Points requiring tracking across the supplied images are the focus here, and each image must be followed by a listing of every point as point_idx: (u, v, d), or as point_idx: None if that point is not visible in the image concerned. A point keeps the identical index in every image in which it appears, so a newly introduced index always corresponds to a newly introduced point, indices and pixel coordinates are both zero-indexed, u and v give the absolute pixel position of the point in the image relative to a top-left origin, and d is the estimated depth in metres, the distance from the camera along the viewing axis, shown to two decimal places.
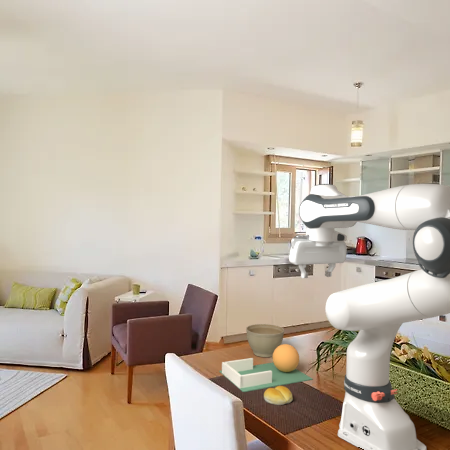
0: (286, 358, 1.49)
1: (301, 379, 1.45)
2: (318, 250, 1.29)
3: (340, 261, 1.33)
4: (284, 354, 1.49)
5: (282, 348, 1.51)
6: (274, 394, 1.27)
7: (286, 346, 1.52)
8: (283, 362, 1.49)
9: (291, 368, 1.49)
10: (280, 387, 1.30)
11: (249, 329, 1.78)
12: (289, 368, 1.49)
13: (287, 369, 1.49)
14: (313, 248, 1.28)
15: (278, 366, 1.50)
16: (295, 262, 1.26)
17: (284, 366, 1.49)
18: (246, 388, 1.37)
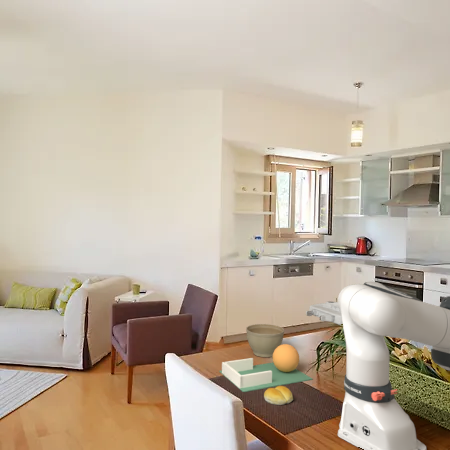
0: (286, 358, 1.49)
1: (301, 379, 1.45)
2: None
3: None
4: (284, 354, 1.49)
5: (282, 348, 1.51)
6: (274, 394, 1.27)
7: (286, 346, 1.52)
8: (283, 362, 1.49)
9: (291, 368, 1.49)
10: (280, 387, 1.30)
11: (249, 329, 1.78)
12: (289, 368, 1.49)
13: (287, 369, 1.49)
14: None
15: (278, 366, 1.50)
16: None
17: (284, 366, 1.49)
18: (246, 388, 1.37)
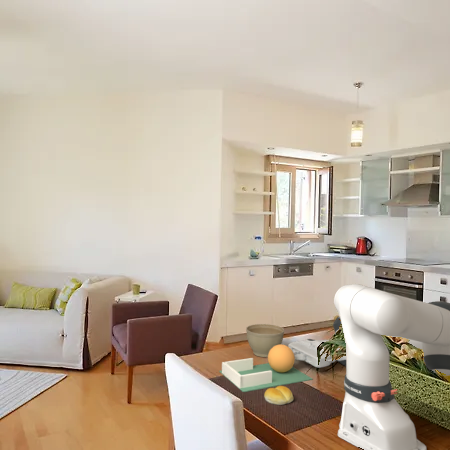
0: (280, 360, 1.48)
1: (301, 379, 1.45)
2: None
3: None
4: (277, 356, 1.49)
5: (274, 351, 1.50)
6: (274, 394, 1.27)
7: (277, 348, 1.51)
8: (279, 364, 1.48)
9: (288, 367, 1.49)
10: (281, 387, 1.30)
11: (249, 329, 1.78)
12: (286, 368, 1.49)
13: (285, 370, 1.49)
14: None
15: (276, 369, 1.50)
16: (318, 367, 1.49)
17: (281, 368, 1.48)
18: (246, 388, 1.37)
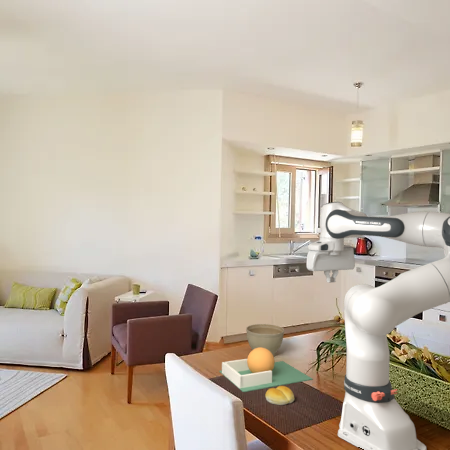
0: None
1: (301, 379, 1.45)
2: None
3: None
4: None
5: None
6: (276, 394, 1.27)
7: (251, 371, 1.47)
8: None
9: (270, 362, 1.45)
10: (282, 387, 1.30)
11: (249, 329, 1.78)
12: (271, 365, 1.45)
13: (273, 364, 1.46)
14: None
15: None
16: None
17: (271, 369, 1.46)
18: (246, 388, 1.37)
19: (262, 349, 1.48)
